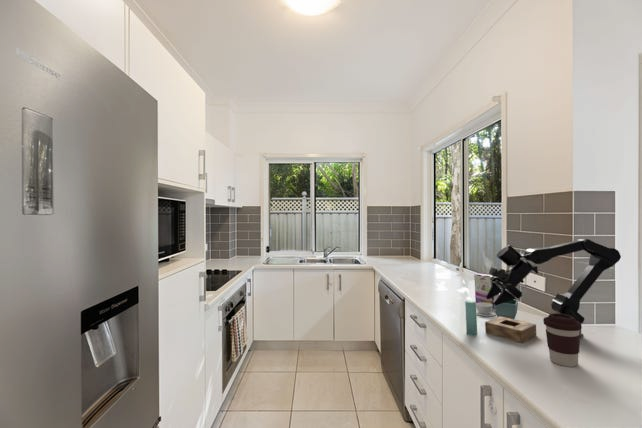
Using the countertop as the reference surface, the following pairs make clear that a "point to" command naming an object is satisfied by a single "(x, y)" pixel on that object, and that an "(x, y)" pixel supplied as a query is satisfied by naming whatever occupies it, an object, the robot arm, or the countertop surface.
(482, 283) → the candy bar box
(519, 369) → the countertop surface
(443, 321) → the countertop surface
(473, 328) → the dowel
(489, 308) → the teacup
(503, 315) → the flower pot
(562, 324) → the coffee cup
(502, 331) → the brown wooden box
